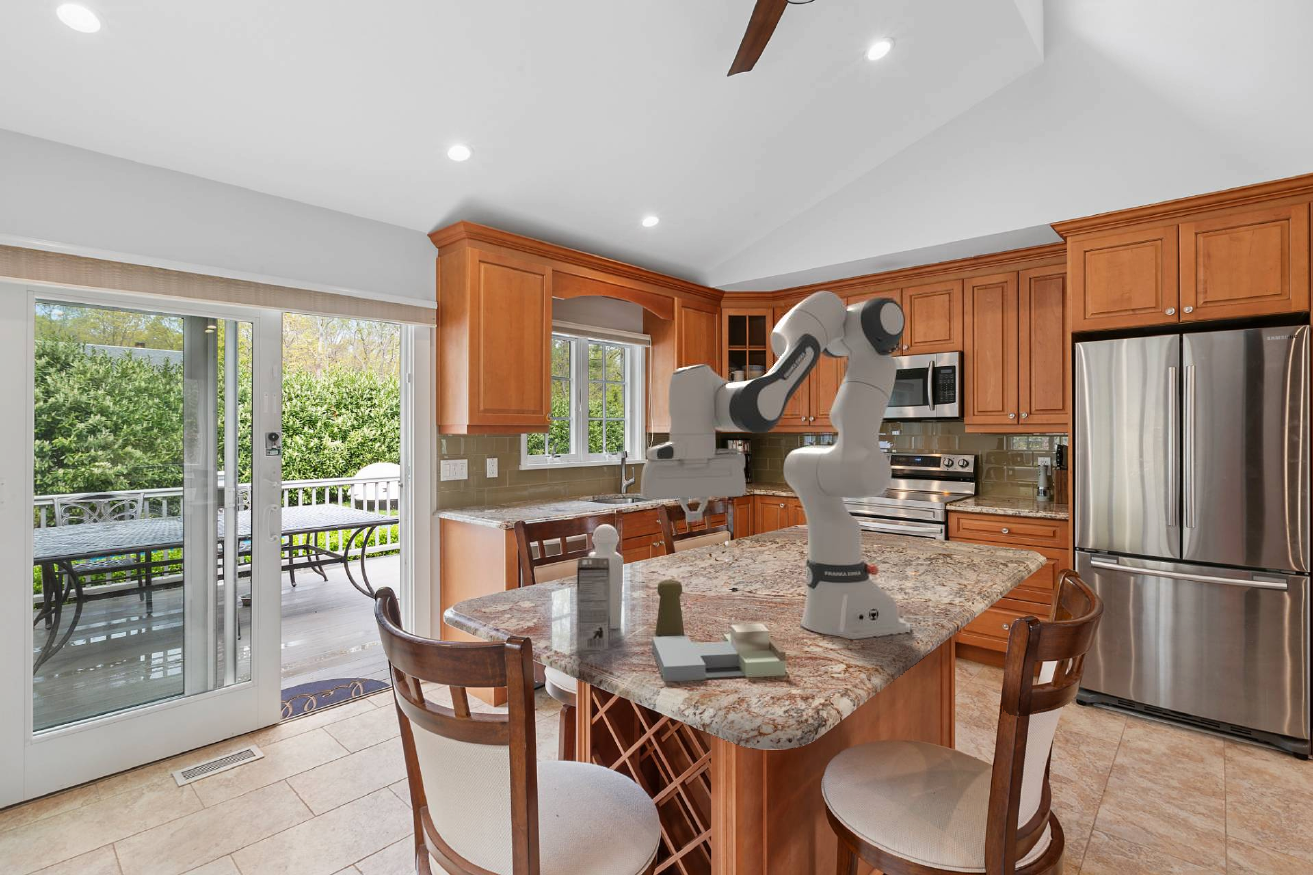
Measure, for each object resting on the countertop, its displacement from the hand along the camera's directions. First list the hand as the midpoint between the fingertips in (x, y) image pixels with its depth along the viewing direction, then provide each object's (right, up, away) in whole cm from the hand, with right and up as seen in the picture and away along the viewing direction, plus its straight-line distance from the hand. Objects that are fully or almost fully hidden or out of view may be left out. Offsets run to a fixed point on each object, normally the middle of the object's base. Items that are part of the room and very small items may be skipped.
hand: (694, 521), depth 123 cm
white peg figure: (-18, -25, +15) cm, 35 cm away
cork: (-4, -25, +10) cm, 27 cm away
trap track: (+3, -25, -7) cm, 26 cm away
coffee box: (-20, -25, +4) cm, 32 cm away
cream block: (+10, -22, -6) cm, 25 cm away
